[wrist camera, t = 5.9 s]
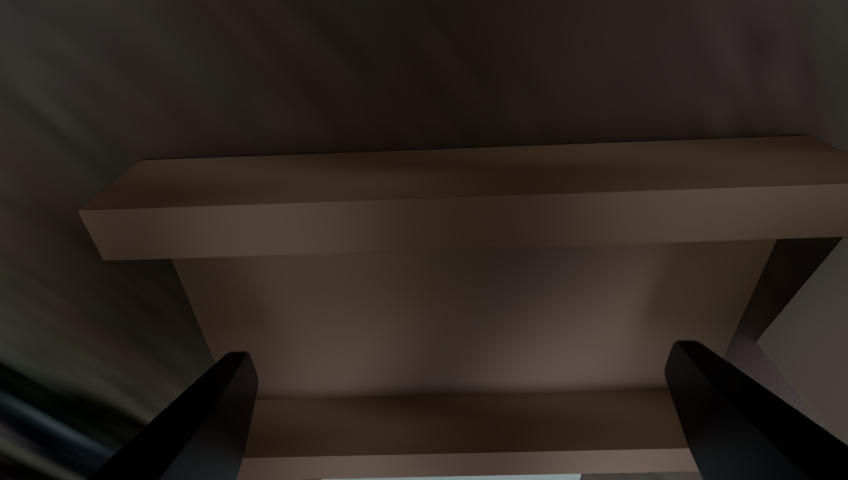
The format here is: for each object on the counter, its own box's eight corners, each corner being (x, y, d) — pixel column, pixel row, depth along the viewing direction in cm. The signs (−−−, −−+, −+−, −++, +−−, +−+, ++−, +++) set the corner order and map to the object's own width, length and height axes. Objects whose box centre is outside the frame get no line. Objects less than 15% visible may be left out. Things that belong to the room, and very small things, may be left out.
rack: (243, 413, 14) (218, 481, 12) (140, 160, 9) (77, 210, 8) (693, 403, 13) (732, 470, 12) (810, 134, 9) (900, 182, 7)
